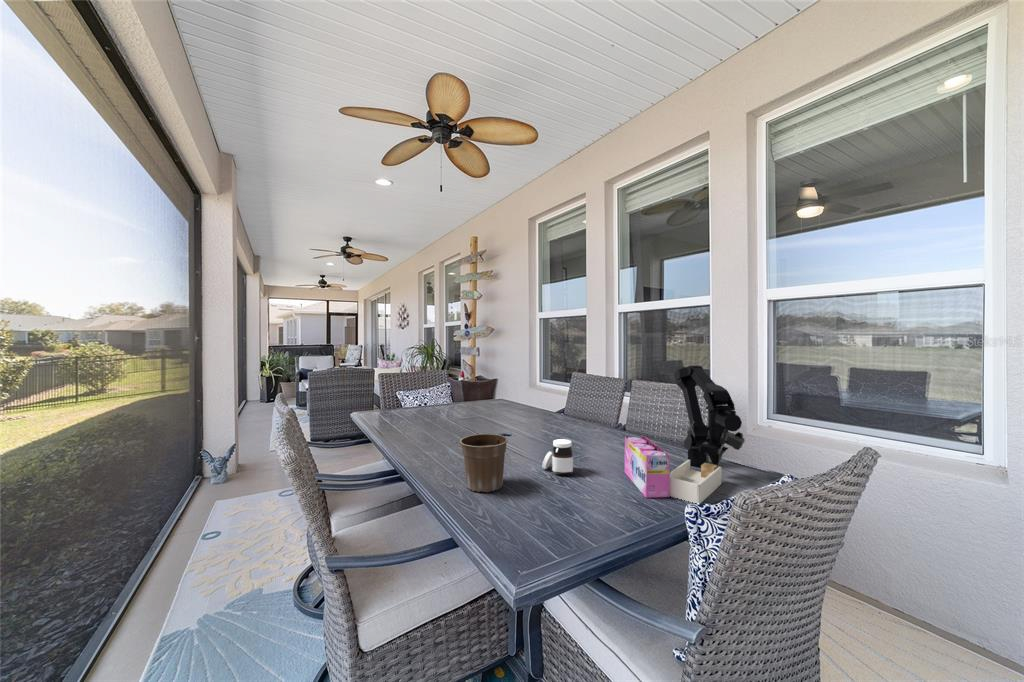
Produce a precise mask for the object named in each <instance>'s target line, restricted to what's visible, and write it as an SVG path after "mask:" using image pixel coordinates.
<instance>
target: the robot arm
mask: <svg viewBox="0 0 1024 682" xmlns="http://www.w3.org/2000/svg"><path fill="white" fill-rule="evenodd" d="M673 376H674V377H673V378H674V380H675V383H676V385H677V387H679V388H680V389H681V390H682V394H683V398H684V403H685V408H686V413H687V417H688V421H689V427H688V430H687V436H686V437H685V439H684V441H683V446H684V448H686V449H687V460H690V466H694V467H698V468H701V465H702V464H704V463H709V462H710V461H711V464H714V465H717V468H718V467H719V466H720V464H721V461H722V456H723V454H724V452H726V451H727V450H728V449H729V447H732V448H733V449H735V450H737V451H739V450H740V449H741V448H742V447H743V445H744V443H745V441H746V440H745V438H744V433H743V432H740V431H739V430H740V428H741V427H742V424H743V422H742V420H741V417H740V416H739V415H737V414H736V413H737V411H736V407H735V403H734V401H733V399H732V397H731V394H730V393H729V391H728V390H727V389H726V388H724V386H722V385H719V384H716V383H715V382H714V381H713V379H712V378H711V377H710V376H709V375H708V374H707V373H706V371H705V370H704V368H703V366H702V365H699V364H697V365H688V366H686V367H681V368H677V369H676V370H675V371H674V373H673ZM696 386H698V387H699V388H700V389H701V390H702V392H703V396H702V398H703V399H704V402H705V403H706V405H707V406H706V407H705V410H707V425H706V424H705V423H704V420H703V415H702V411H701V406H700V404H699V398H698V394H697V390H696ZM737 431H738V432H737ZM732 432H733V433H732ZM734 432H736V433H734ZM725 444H726V445H727V446H729V447H726V446H725ZM709 459H710V461H709Z"/></svg>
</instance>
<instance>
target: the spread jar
mask: <svg viewBox="0 0 1024 682" xmlns="http://www.w3.org/2000/svg"><path fill="white" fill-rule="evenodd" d="M552 445H553V446H552V449H551V451H550V450H549V451H548V452H546V455H545V456H544V459H543V461H542V465H541V468H542V469H544V470H548V468H549V467H550V465H551V471H552V473H553V474H554V475H556V476H559V475H563V476H562V477H565V476H564V475H567V476H570V475H572V474H573V473H574V453H573V452H574V451H573V448H572V445H573V444H572V440H570V439H565V438H560V439H559V438H558V439H554V440H553V441H552Z"/></svg>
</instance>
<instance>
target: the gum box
mask: <svg viewBox="0 0 1024 682" xmlns="http://www.w3.org/2000/svg"><path fill="white" fill-rule="evenodd" d="M670 469H671V456H670V454H669V453H668V452H667V451H666V450H664V449H662V448H661V447H659V446H658V445H657V444H656V443H654V442H653V441H651V439H649V438H648V437H646V436H645V435H639V437H628V436H627V435H625V436H624V473H625V474H626V475H627V477H628V478H629V479H630V480H631V482H632V483H633V484H634V485H635V487H636V488H637V489H638V490H639V491H640V493H641V494H642V495H643V496H644V497H645V498H670V496H669V493H670V472H671V470H670Z"/></svg>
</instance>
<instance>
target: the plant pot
mask: <svg viewBox="0 0 1024 682" xmlns="http://www.w3.org/2000/svg"><path fill="white" fill-rule="evenodd" d="M508 442H509V440H508V437H507V436H504V435H503V434H497V433H478V434H471V435H467V436H465V437H463V438H461V439H460V440H459V443H460V445H461V450H462V454H463V458H464V467H465V469H464V471H465V478H466V479H465V480H466V486H467V489H468V488H469V489H470V490H469V489H468V490H469V491H471V490H472V492H474V491H477V492H476V493H480V492H483V493H484V492H486V493H491V492H490V491H493V492H496V491H498V490H500V489H501V488H502V487H503V484H504V482H503V481H504V472H505V471H504V467H505V455H506V452H507V443H508ZM495 490H496V491H495Z"/></svg>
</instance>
